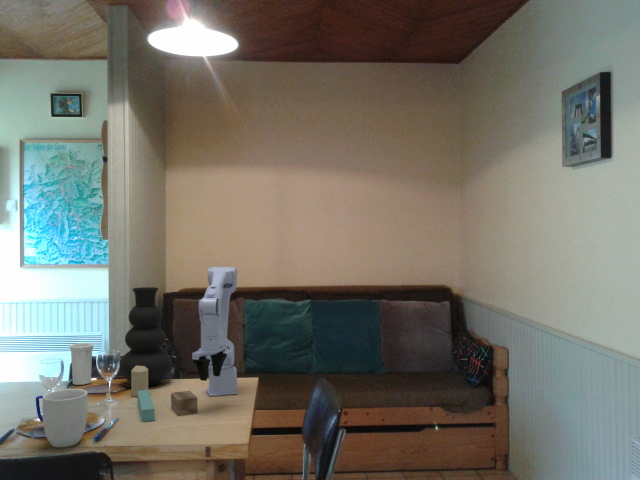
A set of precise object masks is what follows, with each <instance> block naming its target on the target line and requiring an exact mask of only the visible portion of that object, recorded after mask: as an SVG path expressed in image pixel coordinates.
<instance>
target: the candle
mask: <svg viewBox="0 0 640 480" xmlns="http://www.w3.org/2000/svg"><path fill="white" fill-rule="evenodd" d="M130 385H131V386H130V387H131V391H130V393H131V396H132V397H134V398H135V397H136V398H138V391H143V390H149V386H148V369H147V368H146V367H145V366H137V365H136V366H135V367H134V368H133V369H132V370H131V384H130Z"/></svg>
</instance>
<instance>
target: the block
mask: <svg viewBox="0 0 640 480" xmlns="http://www.w3.org/2000/svg"><path fill="white" fill-rule="evenodd" d="M170 409H171V410H172V411H173V412H174V414H176V415H177V416H178V417H180V416H186V415H187V416H188V415H193V414H198V397H197V396H196V395H195V394H194V393H193V392H192V391H191V390H184V391H176V392H171V393H170Z"/></svg>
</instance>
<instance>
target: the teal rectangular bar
mask: <svg viewBox="0 0 640 480" xmlns="http://www.w3.org/2000/svg"><path fill="white" fill-rule="evenodd" d="M137 405H138V409H139V414H140V418H141V422H142V423H145V422H152V421H153V422H154V421H155V406H154V403H153V400H152V397H151V394H150V390H149V389H148V390H143V391H138V397H137Z"/></svg>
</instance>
